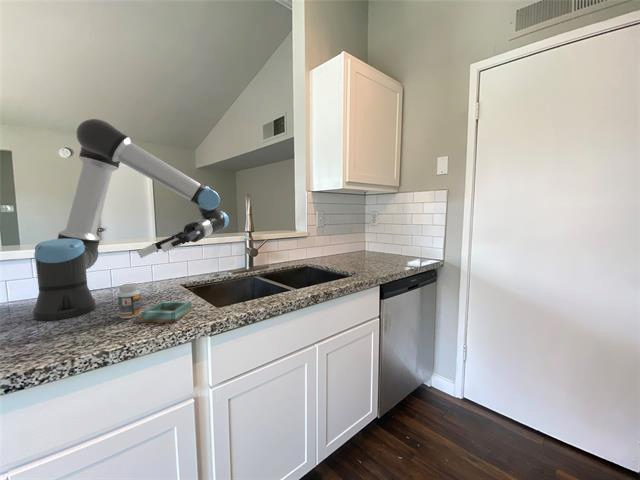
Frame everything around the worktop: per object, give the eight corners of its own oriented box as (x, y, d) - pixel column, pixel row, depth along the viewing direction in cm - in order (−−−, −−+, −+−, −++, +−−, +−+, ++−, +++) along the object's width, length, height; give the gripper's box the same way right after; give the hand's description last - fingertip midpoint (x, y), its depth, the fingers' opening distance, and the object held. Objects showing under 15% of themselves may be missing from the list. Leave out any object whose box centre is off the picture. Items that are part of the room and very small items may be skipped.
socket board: (135, 322, 85) (135, 312, 85) (155, 310, 95) (155, 301, 95) (175, 322, 85) (175, 312, 84) (191, 310, 95) (191, 301, 94)
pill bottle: (139, 317, 88) (137, 286, 87) (117, 320, 86) (115, 288, 85) (143, 311, 94) (141, 282, 93) (122, 314, 92) (120, 283, 91)
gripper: (223, 233, 110) (178, 256, 93) (182, 243, 122) (135, 265, 105) (215, 215, 109) (168, 235, 91) (174, 227, 120) (125, 247, 103)
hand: (150, 251), depth 98 cm, fingers open, 13 cm apart
